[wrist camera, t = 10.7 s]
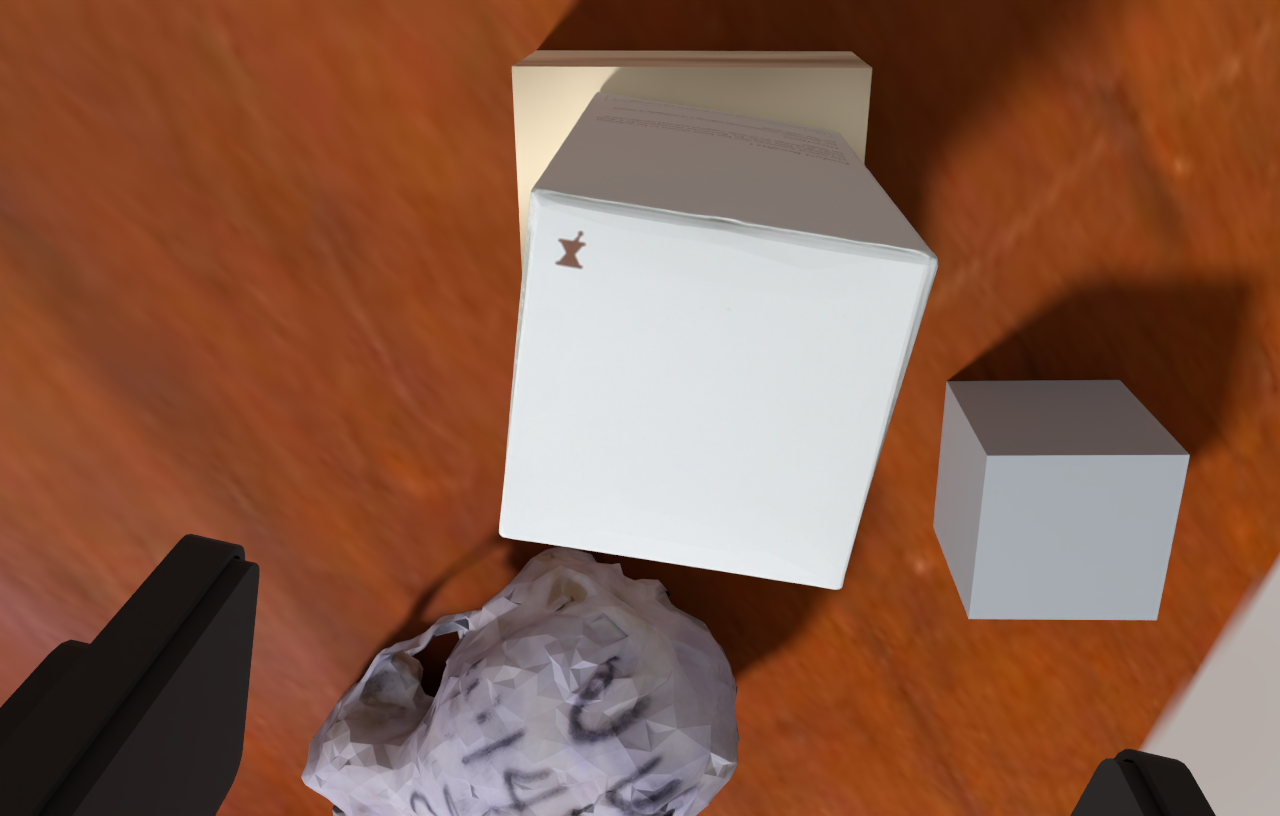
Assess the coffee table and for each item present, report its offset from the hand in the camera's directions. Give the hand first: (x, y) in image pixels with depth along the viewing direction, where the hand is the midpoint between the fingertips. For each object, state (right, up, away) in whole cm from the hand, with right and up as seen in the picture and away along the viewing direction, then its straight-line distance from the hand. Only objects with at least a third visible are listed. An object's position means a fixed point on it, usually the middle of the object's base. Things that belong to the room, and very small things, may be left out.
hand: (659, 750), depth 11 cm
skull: (-5, -7, +32) cm, 34 cm away
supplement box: (+2, +9, +20) cm, 22 cm away
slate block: (+14, +2, +27) cm, 31 cm away
